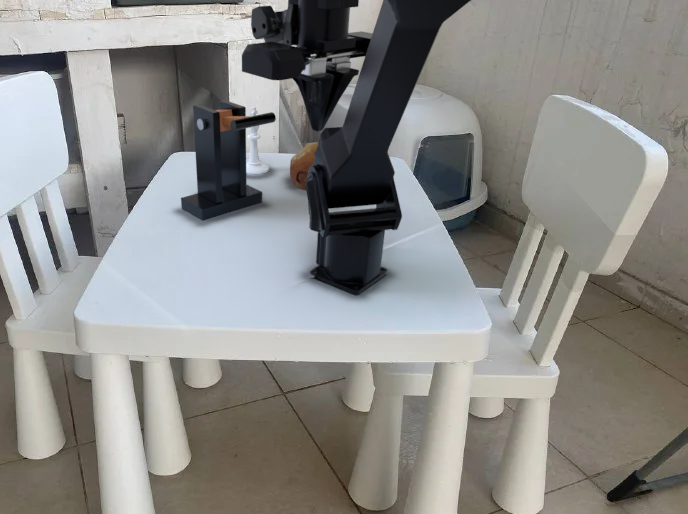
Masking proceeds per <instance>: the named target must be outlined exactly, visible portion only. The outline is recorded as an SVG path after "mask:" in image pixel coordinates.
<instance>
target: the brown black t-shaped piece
mask: <svg viewBox="0 0 688 514" xmlns="http://www.w3.org/2000/svg"><path fill="white" fill-rule="evenodd" d="M215 110H216V111H218V112H220V132H223V131H228V130H233V131H235V130H240V129H245V128H246V129H249V127H254V126H259V127H260V126H263V125H267V124H272V123H273V124H274V123H275V122H276V118H277V116H276V114H275V113H274V112H272V111H269V112H266V113H261V114H256V115H255V116H250V115H246V116H232V110H219V109H215Z"/></svg>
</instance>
